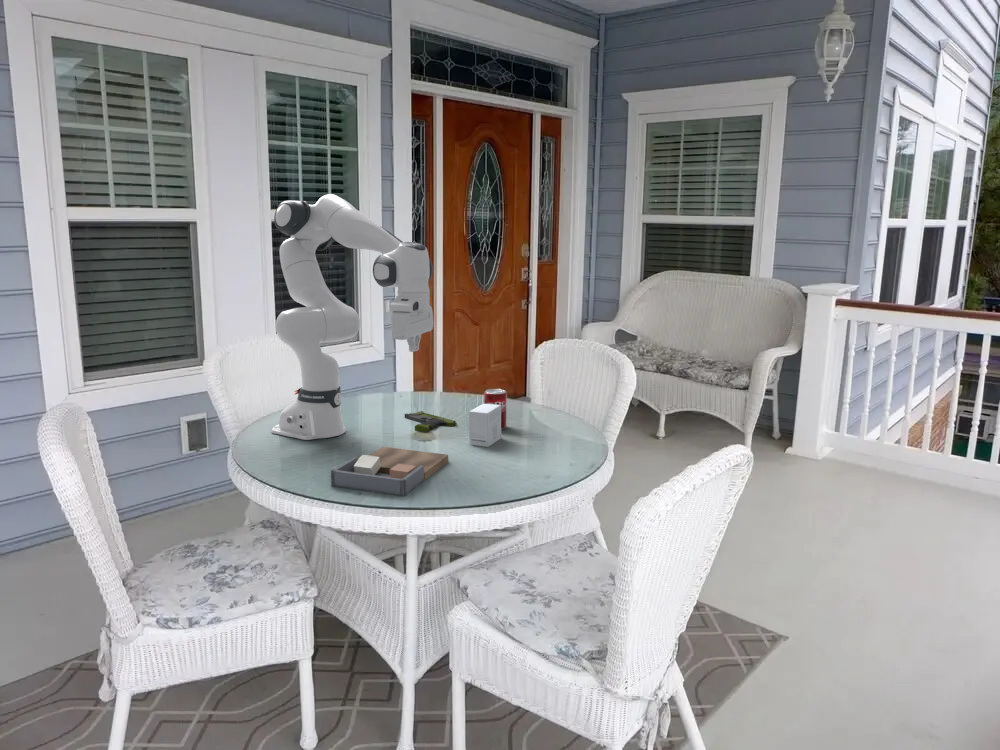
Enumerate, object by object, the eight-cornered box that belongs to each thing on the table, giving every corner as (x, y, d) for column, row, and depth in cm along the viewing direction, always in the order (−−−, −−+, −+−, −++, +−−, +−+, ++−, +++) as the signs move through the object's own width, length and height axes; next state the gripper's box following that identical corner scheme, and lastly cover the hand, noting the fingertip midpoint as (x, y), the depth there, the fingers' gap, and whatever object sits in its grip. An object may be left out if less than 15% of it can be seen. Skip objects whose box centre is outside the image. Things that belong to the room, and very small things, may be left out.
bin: (331, 486, 194) (330, 470, 194) (354, 471, 206) (354, 456, 205) (403, 496, 188) (403, 480, 187) (424, 480, 199) (424, 465, 199)
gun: (386, 423, 254) (420, 416, 265) (424, 435, 241) (459, 426, 252) (386, 416, 253) (420, 409, 264) (425, 427, 241) (459, 419, 251)
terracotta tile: (389, 480, 197) (389, 469, 197) (398, 474, 202) (398, 463, 201) (407, 483, 196) (407, 472, 195) (416, 477, 200) (415, 466, 200)
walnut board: (355, 470, 206) (355, 463, 206) (383, 453, 221) (383, 446, 220) (424, 480, 200) (424, 472, 199) (448, 461, 215) (448, 454, 214)
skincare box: (482, 435, 240) (482, 402, 238) (501, 438, 238) (502, 405, 236) (468, 444, 231) (468, 410, 229) (488, 447, 228) (488, 413, 226)
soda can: (509, 429, 247) (510, 393, 244) (488, 431, 244) (488, 394, 242) (501, 423, 253) (501, 388, 251) (480, 425, 251) (480, 389, 248)
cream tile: (355, 475, 201) (353, 465, 199) (364, 463, 205) (362, 454, 204) (372, 477, 199) (371, 468, 198) (381, 466, 204) (379, 456, 202)
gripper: (418, 297, 226) (418, 344, 229) (387, 305, 207) (387, 356, 210) (438, 298, 224) (438, 345, 227) (408, 306, 205) (409, 358, 208)
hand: (413, 351), depth 218 cm, fingers closed
